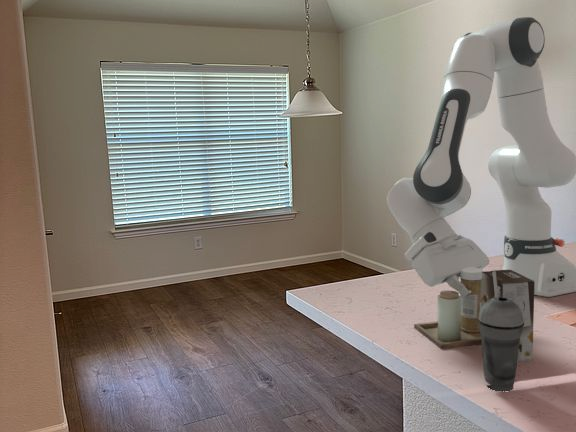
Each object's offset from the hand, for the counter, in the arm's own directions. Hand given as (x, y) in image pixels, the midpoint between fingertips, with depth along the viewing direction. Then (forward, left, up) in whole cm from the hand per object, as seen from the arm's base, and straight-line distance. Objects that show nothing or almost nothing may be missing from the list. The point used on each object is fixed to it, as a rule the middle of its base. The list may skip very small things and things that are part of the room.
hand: (475, 292), depth 110 cm
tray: (+3, 0, -10) cm, 10 cm away
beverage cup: (+8, +21, -10) cm, 25 cm away
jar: (+7, +2, -9) cm, 11 cm away
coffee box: (0, +11, -10) cm, 15 cm away
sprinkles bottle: (0, -1, -9) cm, 9 cm away
